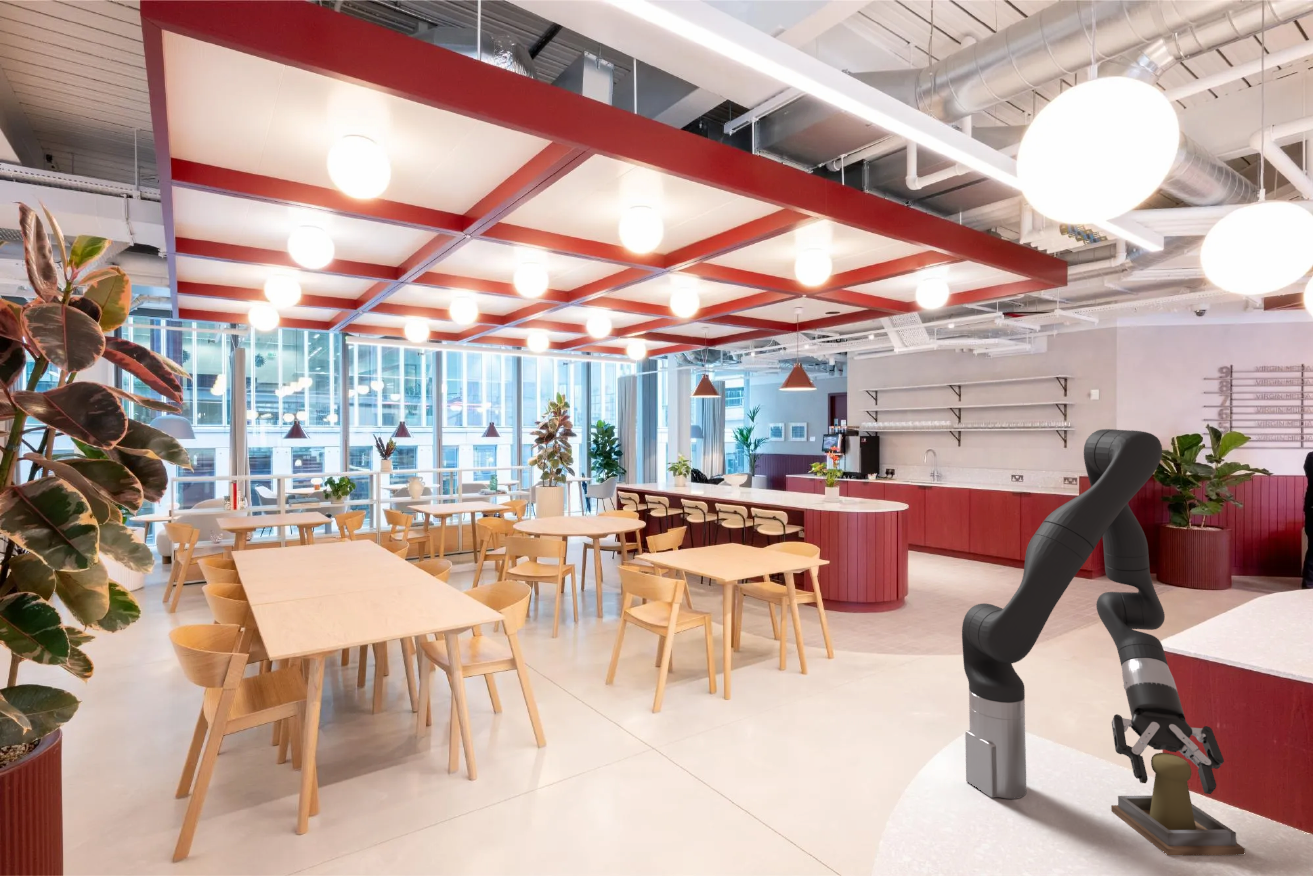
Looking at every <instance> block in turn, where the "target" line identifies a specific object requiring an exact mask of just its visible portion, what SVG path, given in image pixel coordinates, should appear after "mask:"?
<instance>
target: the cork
mask: <svg viewBox="0 0 1313 876" xmlns="http://www.w3.org/2000/svg"><path fill="white" fill-rule="evenodd" d="M1150 766H1151V769H1152V770H1153V773H1155V775H1154V781H1153V782H1154V783H1153V788H1152V795H1151V796H1152V802H1151V809H1150V816H1151V817H1152V818H1153V819H1155V820H1156V821H1157V822H1159V823H1160V824H1161V825H1163V826H1164V827H1166V828H1167V829H1168V830H1196V826H1195V821H1194V815H1193V810H1192V804H1193V803H1192V800H1191V795H1190V789H1189V783H1188V781H1189V780H1191V779H1192V778H1191V777H1192V768H1191V765H1190V764H1189V762H1188V761H1187V760H1186V759H1184V758H1183V757H1182V756H1179V755H1177V754H1173V753H1169V752H1158V753H1155V754H1154V755H1152V756H1151V759H1150ZM1191 803H1192V804H1191Z"/></svg>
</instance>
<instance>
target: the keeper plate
mask: <svg viewBox="0 0 1313 876" xmlns="http://www.w3.org/2000/svg"><path fill="white" fill-rule="evenodd" d="M1117 802H1118V803H1117V804H1118V805H1117V804H1115V805H1114V804H1112V805H1110V806H1111V807H1110V808H1111V809H1110V810H1111V812H1112V813H1113V814H1114V815H1116V816H1117V817H1118V818H1119V819H1121V820H1122V821H1123V822H1125V824H1127V825H1128V826H1130V827H1131V828H1132V829H1134V830H1135V832H1137V833H1138V834H1140V835H1141V836H1142V837H1143V838H1144V839H1146V840H1147V841H1149V842H1150V843H1153V844H1152V845H1154V846H1155V847H1156V848H1157V847H1158V848H1157V849H1159V850H1160V849H1161V850H1162V851H1161V850H1160V851H1161V852H1163V851H1164V852H1163V853H1164V854H1165V853H1166V854H1167V855H1166V854H1165V855H1166V856H1168V855H1183V856H1239V855H1238V854H1244V853H1245V854H1246V847H1244V846H1242V845H1240V844H1239V843H1238V842H1237V832H1236V831H1234V830H1233V829H1231V828H1229V827H1228V826H1227V825H1225V824H1224V823H1222V822H1221V821H1219V820H1218V819H1216V818H1214V817H1213V816H1211V815H1209V814H1208V813H1207V812H1205V811H1204V810H1202V809H1201V808H1199V807H1197V806H1196V805H1195V804H1193V803H1192V802H1191V804H1192V810H1193V815H1194V821H1195V826H1196V830H1168V829H1167V828H1166V827H1164V826H1163V825H1161V824H1160V823H1159V822H1157V821H1156V820H1155V819H1153V818H1152V817H1151V816H1150V809H1151V802H1152V795H1118V796H1117ZM1236 854H1237V855H1236Z"/></svg>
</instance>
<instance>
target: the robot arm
mask: <svg viewBox="0 0 1313 876" xmlns="http://www.w3.org/2000/svg"><path fill="white" fill-rule="evenodd" d="M1162 456H1163V446H1162V443H1161V441H1160V439H1159V438H1158V437H1157V436H1156V435H1154V434H1152V433H1150V432H1146V431H1141V430H1133V429H1132V430H1129V429H1127V430H1126V429H1125V430H1124V429H1110V428H1109V429H1108V428H1105V429H1098V430H1096V431H1094V432H1093V433H1091V434H1090V435H1089V436H1088V438H1087V439H1086V440H1085V443H1084V447H1083V462H1084V465H1085V470H1086V474H1087V476H1088V477H1087V478H1088V482H1089V485H1090V488H1088V489H1087V490H1085V491H1084V492H1082V493H1080V494H1079V495H1077V496H1076V497H1073V498H1072V499H1070V500H1069V501H1067V502H1065V503H1064V504H1062V505H1061V506H1058V507H1057V508H1056V509H1055V510H1053V511H1052V512H1051V513H1050V514H1048V515H1047V516H1046V518H1045V519H1044V520H1043V521H1042V523H1041V524H1040V526H1039V527H1038V529H1037V530H1036V531H1035V533H1034V534H1033V535H1032V537H1031V538H1030V541H1029V542H1028V544H1027V547H1026V551H1025V556H1024V557H1025V558H1024V566H1023V576H1022V579H1021V582H1020V584H1019V587H1018V588H1017V590H1016V591H1015V593H1014V595H1013V596H1012V597H1011V598H1010V600H1009V601H1008V603H1006V605H1005V606H1004V607H1003V608H1001V607H999V606H997V605H994V604H990V603H978V604H974V605H973V606H972V607H971V608H970V609H968V611H966V614H965V615H964V618H963V620H962V626H961V640H962V642H961V643H962V657H963V658H962V659H963V669H964V673H965V676H966V678H967V680H968V681H967V682H968V699H969V700H968V701H969V702H968V703H969V704H968V707H969V710H968V711H969V712H968V713H969V715H968V716H969V717H968V718H969V730H966V731H965V734H964V735H965V737H964V738H965V739H964V740H965V780H966V782H967V783H968V782H969V783H968V784H970V785H971V784H972V787H974V786H975V787H974V788H976V787H977V788H978V791H980V790H981V791H980V792H982V793H984V794H985V795H987V796H988V797H989V798H1002V799H1011V800H1012V799H1019V798H1022V797H1025V795H1026V794H1027V755H1026V750H1027V749H1026V746H1027V745H1026V707H1025V706H1026V700H1025V698H1026V697H1025V696H1026V690H1025V683H1024V682H1023V680H1022V679H1021V677H1020V676H1019V674H1018V673H1017V671H1016V670H1015V668H1014V666H1013V664H1015V663H1018V662H1020V661H1022V660H1023V659H1024V658H1025V657H1026V656H1028V654H1029V653H1030V652H1031V651H1032V649H1033V648H1034V646H1035V644H1036V642H1037V641H1038V639H1039V636H1040V634H1041V633H1042V631H1043V630H1044V627H1045V625H1046V623H1047V621H1048V620H1049V617H1050V616H1051V614H1052V612H1053V611H1054V608H1055V607H1056V605H1057V604H1058V602H1059V600H1060V599H1061V598H1062V596H1063V594H1064V593H1065V592H1066V590H1067V588H1068V587H1069V585H1070V584H1071V582H1072V581H1073V579H1074V577H1075V576H1077V574H1078V572H1079V571H1080V570H1081V569H1082V567H1083V566H1084V565H1085V563H1086V562H1087V560H1088V559H1089V557H1090V556H1091V554H1092V553H1093V551H1094V550H1095V549H1096V547H1097V546H1098V544H1099V542H1100V540H1101V539H1102V543H1103V544H1102V545H1103V557H1104V558H1103V559H1104V570H1105V572H1104V573H1105V575H1106V577H1107V578H1108V580H1110V581H1112V582H1114V583H1116V584H1121V585H1126V586H1131V587H1133V588H1136V589H1137V591H1138V592H1137V591H1136V592H1128V591H1125V592H1124V591H1108V592H1107V591H1105V592H1103V593H1101V594H1100V595H1099V596H1098V598H1097V600H1096V603H1095V604H1096V611H1097V615H1098V616H1099V618H1100V621H1101V622H1102V625H1104V627H1105V628H1106V631H1107V632H1108V634H1109V635H1110V636H1111V639H1112V640H1113V642H1114V645H1115V646H1116V649H1117V653H1118V658H1119V662H1120V666H1121V672H1122V673H1121V674H1122V682H1123V688H1124V689H1123V690H1124V691H1125V695H1126V698H1127V702H1128V706H1129V711H1130V715H1131V719H1130V718H1125V717H1122V715H1120V714H1114V715H1113V717H1112V720H1111V727H1112V736H1113V743H1114V750H1115V752H1116V753H1117V754H1118V755H1124V756H1126V757H1128V759H1129V760H1130V763H1131V767H1132V768H1131V769H1132V773H1133V776H1134V778H1136V779H1137V780H1139V783H1140V784H1147V782H1148V779H1149V778H1148V773H1147V770H1146V765H1145V761H1144V757H1143V755H1142V753H1144V751H1145V750H1146V748H1147V747H1148V746H1149V747H1151V748H1152V749H1153V750H1158V751H1162V750H1165V751H1166V752H1170V753H1177V752H1180V754H1181V755H1182V756H1183V757H1185V759H1188V760H1190V761H1191V762H1192V763H1193V764H1194V765H1195V766H1196V767H1197V773H1198V777H1199V780H1200V784H1201V787H1202V790H1203V792H1204V794H1207V795H1212V793H1213V792H1214V791H1215V790H1216V788H1217V781H1216V778H1215V775H1214V772H1213V769H1216V770H1218V769H1220V768H1221V766H1222V764H1224V763H1225V760H1224V759H1225V758H1224V757H1223V755H1222V751H1221V748H1220V746H1219V744H1218V741H1217V738H1216V737H1215V733H1214V731H1213V728H1211V727H1210V726H1208V725H1204V726H1203V727H1201V728H1200V727H1191V726H1190V724H1188V722H1187V720H1186V716H1185V713H1184V708H1183V705H1182V701H1181V698H1180V695H1179V693H1178V688H1177V685H1176V682H1175V678H1174V676H1173V675H1172V672H1171V670H1170V668H1169V664H1168V661H1167V658H1166V655H1165V650H1164V647H1163V644H1162V642H1161V641H1160V639H1159V638H1158V637H1156V636H1155V635H1152V634H1150V633H1147V632H1142V631H1138V630H1143V631H1144V630H1147V631H1150V630H1151V631H1152V630H1154V631H1155V630H1157V629H1160V628H1161V626H1162V625H1163V624H1164V622H1165V615H1166V614H1165V611H1164V608H1163V605H1162V603H1161V601H1160V599H1159V596H1158V594H1157V592H1156V589H1155V586H1154V584H1153V579H1152V576H1151V572H1150V571H1151V569H1150V558H1149V545H1148V540H1147V537H1146V535H1145V532H1144V529H1143V528H1142V526H1141V524H1140V522H1139V521H1138V519H1137V517H1136V516H1135V514H1134V512H1133V510H1132V509H1131V507H1130V506H1129V502H1130V501H1131V500H1132V499H1133V498H1134V496H1135V495H1136V494H1137V493H1138V492H1139V491H1140V490H1141V489H1142V487H1144V485H1145V484H1146V483H1147V482H1148V481H1149V480H1150V479H1151V477H1152V476H1153V475H1154V473H1155V472H1156V470H1157V469H1158V467H1159V464H1160V463H1161V460H1162ZM1129 728H1131V729H1132V730H1133V731H1134V732H1135V733H1136V734H1137V735H1138V737H1139V738H1138V739H1137V741H1136V742H1135V743H1134V745H1133V746H1131V745H1128V744H1127V740H1126V734H1125V732H1128V729H1129ZM1192 736H1193V737H1195V738H1196V740H1197V741H1198V742H1199V743H1202V746H1203V748H1204V750H1205V753H1206V755H1205V753H1203V752H1202V751H1201V750H1200V748H1199V747H1198V745H1196V744H1195V742H1194V741H1192V740H1191V739H1190V738H1191V737H1192ZM977 788H976V789H977Z"/></svg>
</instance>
